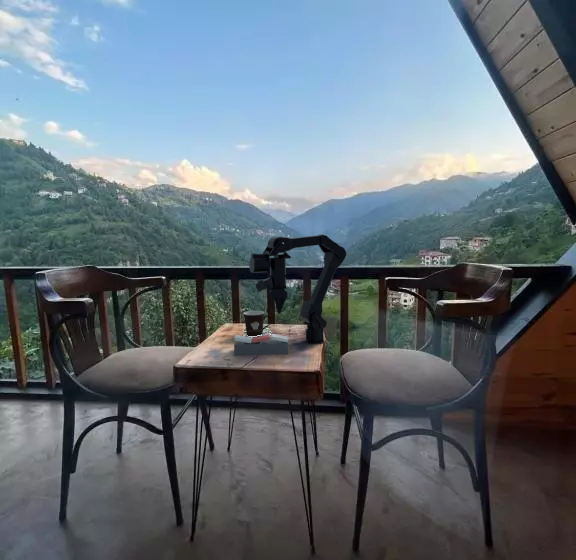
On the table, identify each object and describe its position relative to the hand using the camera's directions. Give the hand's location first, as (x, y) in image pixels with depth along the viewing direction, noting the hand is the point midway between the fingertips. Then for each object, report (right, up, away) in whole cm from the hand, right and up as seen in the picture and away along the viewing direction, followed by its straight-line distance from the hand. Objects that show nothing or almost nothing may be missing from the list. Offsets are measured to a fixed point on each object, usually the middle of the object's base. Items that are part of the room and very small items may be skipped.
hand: (279, 312), depth 134 cm
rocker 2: (0, -9, -6) cm, 11 cm away
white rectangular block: (-13, -9, -6) cm, 17 cm away
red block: (-6, -9, -6) cm, 13 cm away
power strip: (-6, -14, -4) cm, 15 cm away
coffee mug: (-9, -12, +16) cm, 22 cm away
